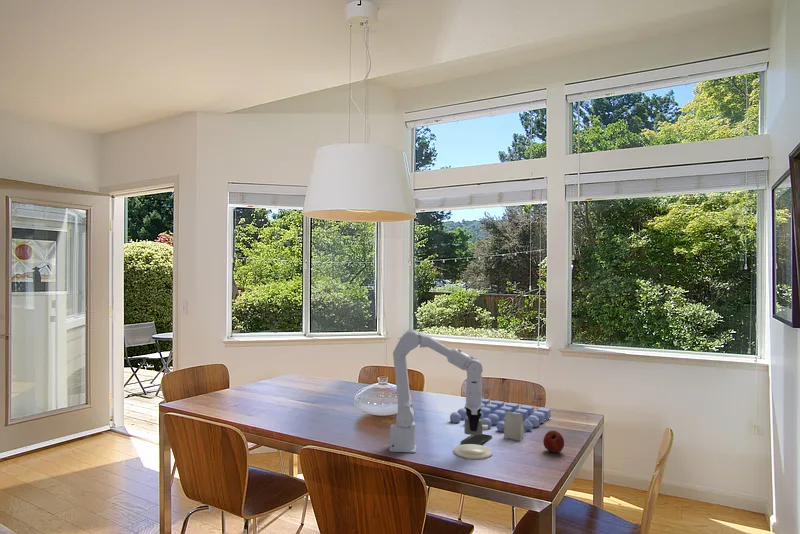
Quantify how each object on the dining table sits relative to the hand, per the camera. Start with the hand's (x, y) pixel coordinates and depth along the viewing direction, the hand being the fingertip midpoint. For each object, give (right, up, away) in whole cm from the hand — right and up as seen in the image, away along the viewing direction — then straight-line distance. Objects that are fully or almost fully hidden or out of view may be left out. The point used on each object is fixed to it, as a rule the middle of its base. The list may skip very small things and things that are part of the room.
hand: (473, 429), depth 189 cm
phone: (+3, -9, +14) cm, 17 cm away
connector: (0, -1, 0) cm, 1 cm away
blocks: (+18, -10, +43) cm, 48 cm away
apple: (+30, -9, +2) cm, 32 cm away
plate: (0, -8, 0) cm, 8 cm away
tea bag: (+19, -9, +18) cm, 28 cm away
